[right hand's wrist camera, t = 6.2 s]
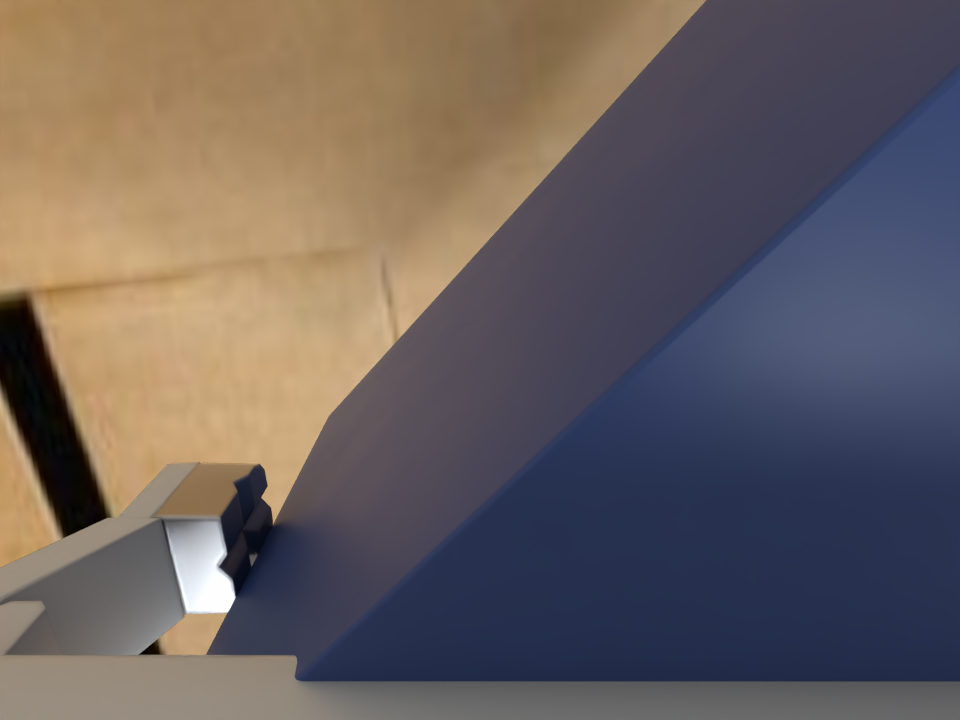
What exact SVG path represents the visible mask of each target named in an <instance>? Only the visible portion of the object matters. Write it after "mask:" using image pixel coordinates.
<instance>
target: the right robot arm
mask: <svg viewBox="0 0 960 720" xmlns="http://www.w3.org/2000/svg"><path fill="white" fill-rule="evenodd" d="M266 488H267V481H266V476H265V470H264V469H263V467H262V466H261V465H260V464H237V463H199V462H194V463H172V464H167V465H166V466H165V467H164V468H163V470H162V471H161V472H160V473H159V474H158V475H157V476H156V477H155V478H154V479H153V480H152V481H151V482H150V484H149V485H148V486H147V487H146V488H145V489H144V490H143V491H142V492H141V493H140V494H139V495H138V496H137V497H136V499H135V500H134V501H133V502H132V503H131V504H130V505H129V506H128V507H127V508H126V509H125V510H124V511H123V513H122V514H121V515H120V516H119V517H118V518H107V519H104V520H102V521H100V522H98V523H96V524H94V525H92V526H89V527H87V528H85V529H83V530H81V531H79V532H76V533H74V534H72V535H70V536H68V537H66V538H63V539H61V540H59V541H57V542H55V543H53V544H50V545H48V546H46V547H44V548H42V549H40V550H37V551H35V552H33V553H31V554H29V555H27V556H24V557H22V558H20V559H18V560H16V561H14V562H11V563H9V564H7V565H5V566H3V567H1V568H0V720H960V682H801V681H299V680H296V678H295V677H294V676H295V671H296V666H297V658H296V656H295V655H138V654H140V653H141V652H142V651H143V650H144V649H146V648H147V647H148V646H149V645H151V644H152V643H153V642H154V641H156V640H157V639H158V638H159V637H160V636H162V635H163V634H164V633H165V632H167V631H168V630H169V629H170V628H172V627H173V626H174V625H175V624H176V623H178V622H179V621H180V620H181V619H183V618H184V614H213V613H228V611H229V609H230V607H231V605H232V604H233V602H234V600H235V598H236V596H237V595H238V593H239V591H240V589H241V587H242V585H243V583H244V581H245V579H246V577H247V575H248V573H249V571H250V569H251V567H252V565H253V563H254V561H255V559H256V557H257V555H258V553H259V551H260V550H261V548H262V546H263V544H264V542H265V540H266V538H267V536H268V534H269V532H270V530H271V528H272V527H273V519H272V512H271V507H270V506H269V505H268V504H267V503H266V502H265V501H264V500H263V499H262V498H261V497H262V495H263V493H264V491H265V490H266Z"/></svg>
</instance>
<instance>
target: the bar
mask: <svg viewBox="0 0 960 720" xmlns="http://www.w3.org/2000/svg"><path fill="white" fill-rule="evenodd" d="M206 655H295V656H296V658H297V666H296V671H295V676H294V677H295V678H296V680H299V681H801V682H960V0H706V2H705V3H704V4H703V5H702V6H701V7H700V8H699V9H698V10H697V12H696V13H695V14H694V15H693V16H692V17H691V18H690V19H689V20H688V21H687V23H686V24H685V25H684V26H683V27H682V28H681V29H680V30H679V31H678V32H677V34H676V35H675V36H674V37H673V38H672V39H671V40H670V41H669V42H668V43H667V45H666V46H665V47H664V48H663V49H662V50H661V51H660V52H659V53H658V54H657V56H656V57H655V58H654V59H653V60H652V61H651V62H650V63H649V64H648V65H647V67H646V68H645V69H644V70H643V71H642V72H641V73H640V74H639V75H638V76H637V78H636V79H635V80H634V81H633V82H632V83H631V84H630V85H629V86H628V88H627V89H626V90H625V91H624V92H623V93H622V94H621V95H620V96H619V97H618V99H617V100H616V101H615V102H614V103H613V104H612V105H611V106H610V107H609V108H608V110H607V111H606V112H605V113H604V114H603V115H602V116H601V117H600V118H599V119H598V121H597V122H596V123H595V124H594V125H593V126H592V127H591V128H590V129H589V130H588V132H587V133H586V134H585V135H584V136H583V137H582V138H581V139H580V140H579V141H578V143H577V144H576V145H575V146H574V147H573V148H572V149H571V150H570V151H569V152H568V154H567V155H566V156H565V157H564V158H563V159H562V160H561V161H560V162H559V164H558V165H557V166H556V167H555V168H554V169H553V170H552V171H551V172H550V173H549V175H548V176H547V177H546V178H545V179H544V180H543V181H542V182H541V183H540V184H539V186H538V187H537V188H536V189H535V190H534V191H533V192H532V193H531V194H530V195H529V197H528V198H527V199H526V200H525V201H524V202H523V203H522V204H521V205H520V206H519V208H518V209H517V210H516V211H515V212H514V213H513V214H512V215H511V216H510V217H509V219H508V220H507V221H506V222H505V223H504V224H503V225H502V226H501V227H500V228H499V230H498V231H497V232H496V233H495V234H494V235H493V236H492V237H491V238H490V240H489V241H488V242H487V243H486V244H485V245H484V246H483V247H482V248H481V249H480V251H479V252H478V253H477V254H476V255H475V256H474V257H473V258H472V259H471V260H470V262H469V263H468V264H467V265H466V266H465V267H464V268H463V269H462V270H461V271H460V273H459V274H458V275H457V276H456V277H455V278H454V279H453V280H452V281H451V282H450V284H449V285H448V286H447V287H446V288H445V289H444V290H443V291H442V292H441V293H440V295H439V296H438V297H437V298H436V299H435V300H434V301H433V302H432V303H431V304H430V306H429V307H428V308H427V309H426V310H425V311H424V312H423V313H422V314H421V316H420V317H419V318H418V319H417V320H416V321H415V322H414V323H413V324H412V325H411V327H410V328H409V329H408V330H407V331H406V332H405V333H404V334H403V335H402V336H401V338H400V339H399V340H398V341H397V342H396V343H395V344H394V345H393V346H392V347H391V349H390V350H389V351H388V352H387V353H386V354H385V355H384V356H383V357H382V358H381V360H380V361H379V362H378V363H377V364H376V365H375V366H374V367H373V368H372V369H371V371H370V372H369V373H368V374H367V375H366V376H365V377H364V378H363V379H362V380H361V382H360V383H359V384H358V385H357V386H356V387H355V388H354V389H353V390H352V392H351V393H350V394H349V395H348V396H347V397H346V398H345V399H344V400H343V401H342V403H341V404H340V405H339V406H338V407H337V408H336V409H335V410H334V411H333V412H332V414H331V415H330V416H329V417H328V419H327V421H326V423H325V425H324V427H323V429H322V431H321V433H320V435H319V437H318V439H317V441H316V442H315V444H314V446H313V448H312V450H311V452H310V454H309V456H308V458H307V460H306V462H305V464H304V466H303V468H302V470H301V472H300V474H299V475H298V477H297V479H296V481H295V483H294V485H293V487H292V489H291V491H290V493H289V495H288V497H287V499H286V501H285V503H284V505H283V507H282V508H281V510H280V512H279V514H278V516H277V518H276V520H275V522H274V524H273V527H272V528H271V530H270V532H269V534H268V536H267V538H266V540H265V542H264V544H263V546H262V548H261V550H260V551H259V553H258V555H257V557H256V559H255V561H254V563H253V565H252V567H251V569H250V571H249V573H248V575H247V577H246V579H245V581H244V583H243V585H242V587H241V589H240V591H239V593H238V595H237V596H236V598H235V600H234V602H233V604H232V605H231V607H230V609H229V611H228V613H227V615H226V617H225V619H224V621H223V623H222V625H221V627H220V629H219V631H218V633H217V635H216V637H215V638H214V640H213V642H212V644H211V646H210V648H209V650H208V652H207V654H206Z"/></svg>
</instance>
